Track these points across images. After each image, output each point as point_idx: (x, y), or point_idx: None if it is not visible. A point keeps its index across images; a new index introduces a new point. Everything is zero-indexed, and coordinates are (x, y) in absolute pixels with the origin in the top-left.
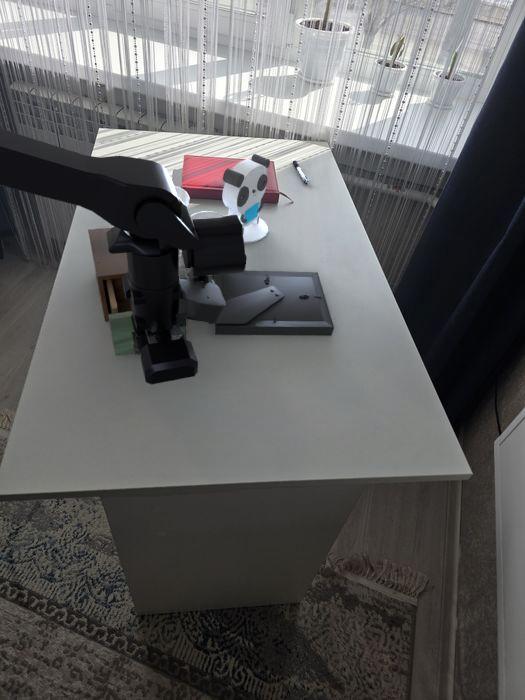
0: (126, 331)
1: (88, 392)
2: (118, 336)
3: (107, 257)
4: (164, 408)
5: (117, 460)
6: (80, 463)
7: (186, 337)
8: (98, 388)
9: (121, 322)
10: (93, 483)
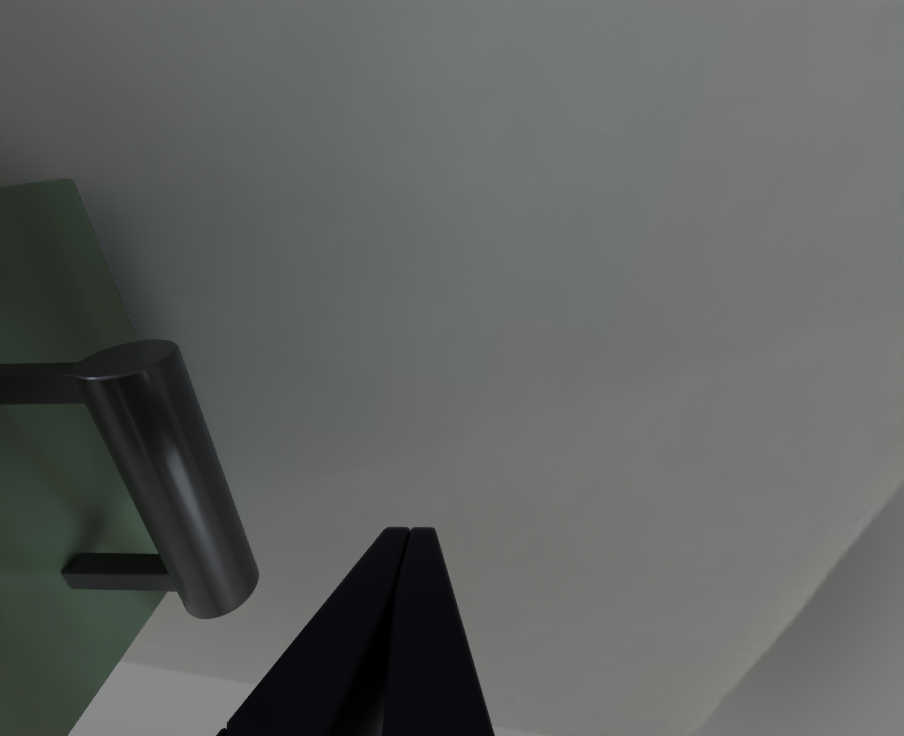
0: (75, 620)
1: None
2: (119, 622)
3: None
4: (539, 373)
5: (723, 558)
6: (677, 637)
7: (17, 186)
8: None
9: (8, 727)
10: (772, 619)
